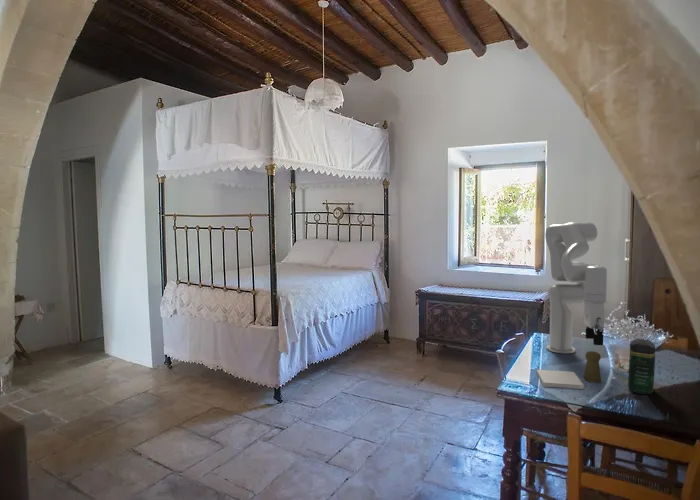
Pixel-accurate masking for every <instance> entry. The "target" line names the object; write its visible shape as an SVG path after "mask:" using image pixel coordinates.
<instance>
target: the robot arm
mask: <svg viewBox="0 0 700 500" xmlns="http://www.w3.org/2000/svg"><path fill="white" fill-rule="evenodd" d="M544 234H545V242H546V245H547V247H548V250H549V257H550V258H549V259H550V270H551V271H550V273H551V278H552V280H554V281H556V282H570V283H576V284H569V283H566V284H565V283H561V284H560V283H559V284H558V283H557V284H553V285H552V286H550V287H549V289H548V298H549V304H550V305H549V306H550V309H549V310H550V316H549V317H550V318H549V319H550V320H549V321H550V322H549V343H548V344H547V345H546V346H545V348H546V350H548V352H552V353H556V354H557V353H558V354H564V355H565V354H574V353H575V352H576V348H575V347H574V346H572V345H573V318H574V317H573V316H574V315H573V312H572V311H571V309H570V308H569V306H570V305H573V306H575V305H578V306H580V305H584V307H583V308H584V309H583V310H584V311H583V324H584V325H585V338H586V339H587V340H588V339H591V340H592V339H593V341H592V342H593V345H594V346H604V328H605V304H606V303H607V285H608V284H607V282H608V271H607V268H606V267H605V266H601V265H600V264H597V263H585V262H582V261H573V260H576V259H579V258H581V257H583V256H585V255H586V254H588V251H589V249H590V245H589V244H588V243H590V242H593V241H595V240H596V239H597V237H598V229H597V227H596V225H595V223H593V222H589V221H585V222H584V221H583V222H581V221H580V222H579V221H576V222H574V221H570V222H567V223H559V224H557V223H556V224H550V225H549V226H547V228H546V230H545V233H544Z"/></svg>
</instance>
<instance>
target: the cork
mask: <svg viewBox="0 0 700 500" xmlns="http://www.w3.org/2000/svg"><path fill="white" fill-rule="evenodd" d="M585 359H586V362H585V363H586V364H585V368H584V375H583V379H584V380H585V381H587V382H591V383H600V382H602V377H601V369H600V368H601V367H600V360H601V359H602V358H601V354H600V353H599V352H597V351H592V350H590V351H587V352H586V353H585Z"/></svg>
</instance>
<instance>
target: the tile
mask: <svg viewBox="0 0 700 500" xmlns="http://www.w3.org/2000/svg"><path fill="white" fill-rule="evenodd" d="M536 375H537V377H538V379H539V381H540V383H541V384H542V386H543V387H550V388H564V389H579V390H584V389H585V386H584V383H583V382H582V381H581V379H580V378H579V377H578V376H577V374H576V373H575V372H574V371H566V370H565V371H563V370H548V369H545V370H544V369H536Z"/></svg>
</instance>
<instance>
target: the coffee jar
mask: <svg viewBox="0 0 700 500" xmlns="http://www.w3.org/2000/svg"><path fill="white" fill-rule="evenodd" d="M628 360H629V362H628V376H627V377H628V378H627V382H628V383H627V388H628V390H629V391H632V392H634V393H636V394H641V395H651V394H652V393H653V392H654V385H655V384H654V383H655V370H656V369H655V367H656V345H655V343H653V342H652V341H650V340H649V339H642V338H636V339H633V340H631V341H630V343H629V359H628Z"/></svg>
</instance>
